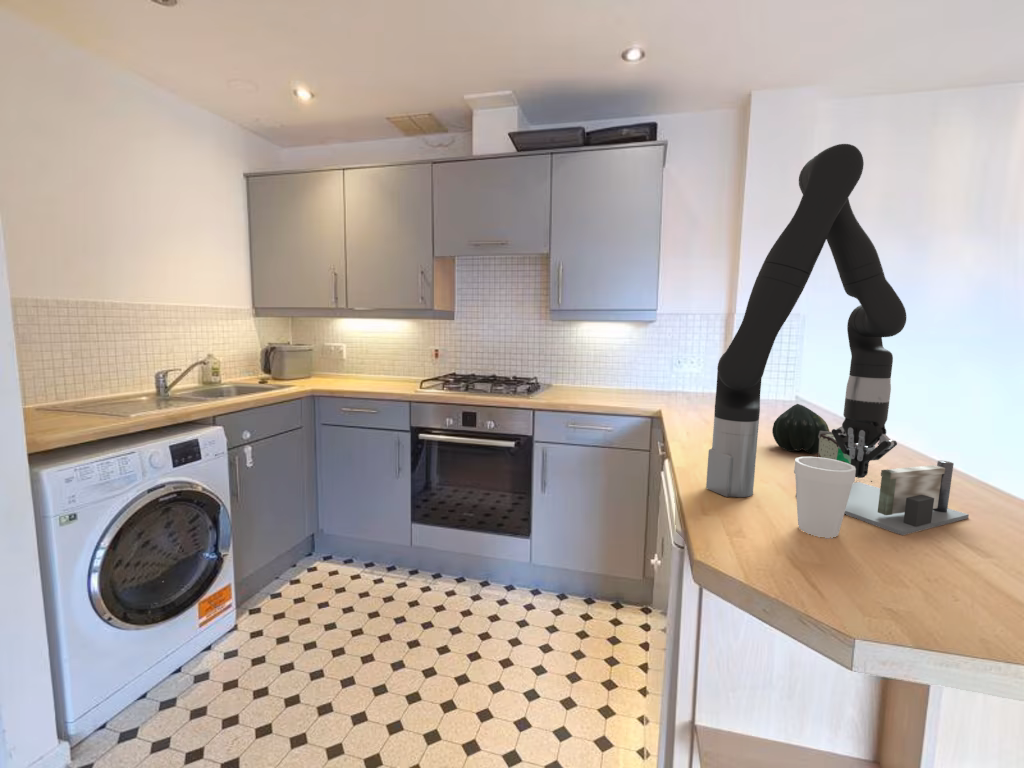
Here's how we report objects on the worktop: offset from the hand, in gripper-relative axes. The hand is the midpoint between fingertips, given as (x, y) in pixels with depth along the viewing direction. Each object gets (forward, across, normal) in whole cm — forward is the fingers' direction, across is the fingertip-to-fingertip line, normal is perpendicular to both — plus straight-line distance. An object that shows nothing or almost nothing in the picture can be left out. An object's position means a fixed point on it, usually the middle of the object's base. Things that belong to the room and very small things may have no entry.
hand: (857, 476), depth 102 cm
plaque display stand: (+6, -3, -2) cm, 7 cm away
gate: (+4, -9, -2) cm, 10 cm away
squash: (+6, +38, -26) cm, 47 cm away
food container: (+6, +17, -16) cm, 24 cm away
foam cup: (+6, -9, +21) cm, 24 cm away
